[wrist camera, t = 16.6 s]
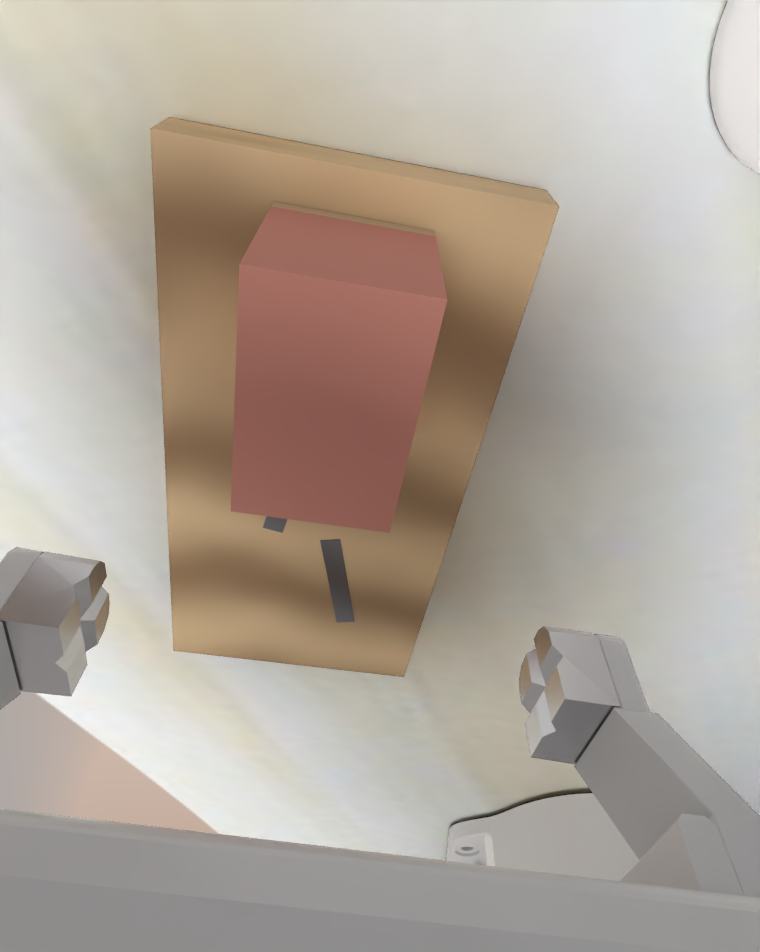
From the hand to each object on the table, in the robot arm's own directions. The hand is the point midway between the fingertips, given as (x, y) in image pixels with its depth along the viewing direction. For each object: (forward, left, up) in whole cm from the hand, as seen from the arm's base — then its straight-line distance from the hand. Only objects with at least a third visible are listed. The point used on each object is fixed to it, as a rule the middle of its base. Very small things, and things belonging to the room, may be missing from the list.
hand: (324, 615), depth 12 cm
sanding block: (+1, +1, -11) cm, 10 cm away
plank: (-5, +1, -12) cm, 13 cm away
